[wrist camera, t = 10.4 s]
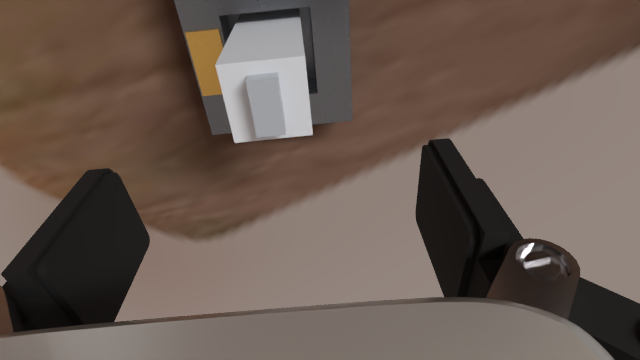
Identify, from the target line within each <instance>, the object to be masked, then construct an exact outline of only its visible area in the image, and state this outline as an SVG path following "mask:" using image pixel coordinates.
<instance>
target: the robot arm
mask: <svg viewBox="0 0 640 360" xmlns="http://www.w3.org/2000/svg"><path fill="white" fill-rule="evenodd" d="M416 221H417V224H418V227H419V230H420V233H421V235H422V238H423V240H424V243H425V246H426V249H427V251H428V254H429V257H430V259H431V262H432V265H433V268H434V270H435V273H436V276H437V279H438V281H439V284H440V287H441V289H442V292H443V295H444V297H438V298H437V297H436V298H416V299H400V300H384V301H368V302H355V303H343V304H329V305H316V306H303V307H291V308H278V309H265V310H253V311H240V312H227V313H217V314H216V313H215V314H203V315H191V316H180V317H167V318H157V319H146V320H145V319H144V320H133V321H122V322H114V321H115V319H116V316H117V314H118V312H119V310H120V308H121V305H122V303H123V301H124V299H125V297H126V294H127V292H128V290H129V288H130V286H131V284H132V282H133V279H134V277H135V275H136V273H137V270H138V268H139V266H140V264H141V262H142V260H143V257H144V255H145V253H146V251H147V249H148V246H149V242H150V239H149V235H148V232H147V230H146V228H145V226H144V224H143V222H142V220H141V218H140V216H139V214H138V212H137V210H136V208H135V206H134V204H133V202H132V200H131V198H130V196H129V194H128V192H127V190H126V188H125V186H124V184H123V182H122V180H121V178H120V176H119V175H118V174H117V173H115V172H113V171H112V170H111V169H108V168H106V169H95V170H88V171H87V172H85V174H84V175H83V176H82V177H81V178H80V180H79V181H78V182H77V183H76V184H75V186H74V187H73V188H72V189H71V190H70V192H69V193H68V194H67V195H66V196H65V198H64V199H63V200H62V201H61V202H60V204H59V205H58V206H57V207H56V208H55V210H54V211H53V212H52V213H51V214H50V216H49V217H48V218H47V219H46V220H45V222H44V223H43V224H42V225H41V226H40V228H39V229H38V230H37V231H36V233H35V234H34V235H33V236H32V237H31V239H30V240H29V241H28V242H27V243H26V245H25V246H24V247H23V248H22V249H21V251H20V252H19V253H18V254H17V255H16V257H15V258H14V259H13V260H12V261H11V263H10V264H9V265H8V266H7V268H6V269H5V270H4V271H3V272H2V274H1V275H2V276H3V277H4V278H5V279H6V280H7V282H6V283H5V284H4V285H3V287H1V286H0V360H640V304H639V303H637V302H635V301H632V300H630V299H628V298H626V297H623V296H621V295H619V294H617V293H614V292H612V291H610V290H608V289H605V288H603V287H601V286H598V285H596V284H594V283H592V282H590V281H587V280H585V279H583V278H581V277H580V267H579V265H578V263H577V261H576V260H575V258H574V257H573V256H572V255H571V254H570V253H569V252H567V251H566V250H565V249H563V248H562V247H560V246H558V245H556V244H554V243H551V242H548V241H545V240H541V239H530V238H529V239H523V237H522V236H521V234H520V233H519V231H518V230H517V229H516V227H515V226H514V224H513V223H512V221H511V220H510V218H509V217H508V215H507V214H506V212H505V211H504V210H503V208H502V206H501V205H500V203H499V202H498V200H497V199H496V198H495V196H494V195H493V193H492V192H491V190H490V189H489V187H488V186H487V184H486V183H485V182H484V181H483V179H480V178H478V179H476V178H475V176H474V175H473V173H472V172H471V170H470V169H469V167H468V166H467V164H466V163H465V161H464V160H463V158H462V156H461V155H460V153H459V152H458V150H457V149H456V147H455V146H454V144H453V143H452V141H451V140H450V139H436V140H430V141H429V143H428V145H424V146H423V147H422V154H421V165H420V174H419V184H418V194H417V204H416Z"/></svg>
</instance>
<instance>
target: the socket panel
mask: <svg viewBox="0 0 640 360" xmlns="http://www.w3.org/2000/svg"><path fill="white" fill-rule="evenodd" d="M174 2H175V6H176V9H177V13H178V16H179V20H180V23H181V27H182V30H183V34H184V37H185V41H186V44H187V48H188V51H189V55H190V58H191V62H192V65H193V69H194V72H195V76H196V79H197V83H198V86H199V90H200V93H201V97H202V100H203V104H204V107H205V111H206V114H207V118H208V121H209V125H210V128H211V132H212V135H218V134H228V133H232V131H231V127H230V123H229V119H228V115H227V111H226V107H225V102H224V98H223V94H222V90H221V86H220V82H219V78H218V74H217V70H216V66H215V64H216V62H217V60H218V58H219V56H220V54H221V52H222V50H223V48H224V46H225V44H226V42H227V40H228V38H229V36H230V34H231V32H232V30H233V27H234V25H235V23H236V21H237V19H238V17H239V16H240V15H250V14H260V13H270V12H280V11H290V10H299V11H300V19H301V27H302V35H303V43H304V51H305V60H306V70H307V80H308V90H309V100H310V110H311V120H312V125H314V124H324V123H333V122H343V121H352V86H351V52H350V18H349V0H174Z"/></svg>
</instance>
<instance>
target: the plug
mask: <svg viewBox="0 0 640 360" xmlns="http://www.w3.org/2000/svg"><path fill="white" fill-rule="evenodd" d="M215 66H216V70H217V74H218V78H219V82H220V86H221V90H222V94H223V98H224V102H225V107H226V111H227V115H228V119H229V123H230V127H231V131H232V135H233V139H234V143H240V142H250V141H259V140H269V139H279V138H289V137H298V136H308V135H313V130H312V120H311V110H310V100H309V90H308V80H307V70H306V60H305V51H304V43H303V35H302V27H301V19H300V11H299V10H290V11H280V12H270V13H260V14H250V15H240V16H239V17H238V19H237V21H236V23H235V25H234V27H233V30H232V32H231V34H230V36H229V38H228V40H227V42H226V44H225V46H224V48H223V50H222V52H221V54H220V56H219V58H218V60H217V62H216V64H215Z"/></svg>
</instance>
